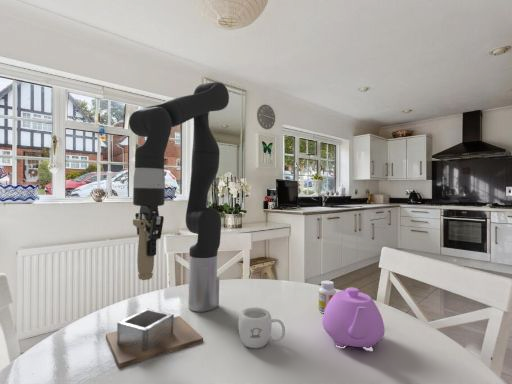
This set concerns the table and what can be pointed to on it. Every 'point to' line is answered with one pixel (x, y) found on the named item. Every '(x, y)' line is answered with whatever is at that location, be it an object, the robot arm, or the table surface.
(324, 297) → the supplement bottle
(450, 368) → the table surface
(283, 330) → the mug
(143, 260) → the handle
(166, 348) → the walnut board
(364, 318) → the teapot
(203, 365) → the table surface
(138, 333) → the collar
